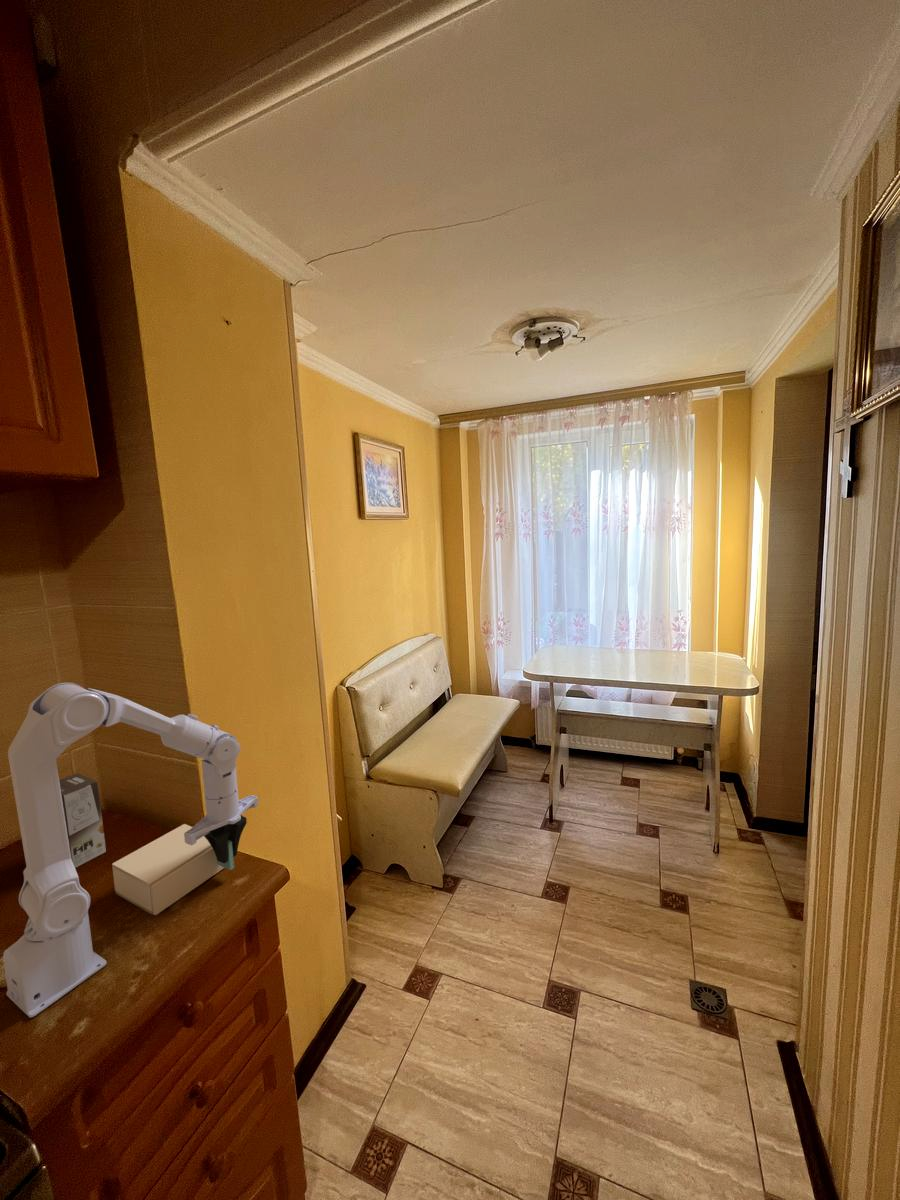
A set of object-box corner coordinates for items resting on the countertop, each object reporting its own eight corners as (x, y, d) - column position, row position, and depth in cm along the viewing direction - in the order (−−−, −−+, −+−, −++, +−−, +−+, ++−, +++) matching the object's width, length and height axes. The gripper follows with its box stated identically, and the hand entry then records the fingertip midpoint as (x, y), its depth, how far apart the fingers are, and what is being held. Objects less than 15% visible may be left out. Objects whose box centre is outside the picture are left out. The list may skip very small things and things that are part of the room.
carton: (152, 915, 82) (149, 883, 81) (115, 893, 87) (111, 863, 87) (223, 866, 94) (221, 838, 93) (187, 850, 100) (184, 823, 99)
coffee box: (108, 851, 100) (99, 780, 98) (72, 870, 94) (63, 795, 93) (86, 840, 104) (77, 772, 103) (51, 857, 99) (41, 785, 97)
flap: (169, 923, 79) (165, 884, 79) (153, 914, 82) (149, 876, 81) (239, 872, 92) (236, 838, 91) (224, 865, 94) (221, 832, 93)
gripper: (199, 816, 81) (205, 888, 82) (266, 779, 94) (271, 842, 95) (174, 807, 84) (181, 876, 86) (243, 772, 97) (248, 833, 98)
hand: (227, 858), depth 91 cm, fingers closed
